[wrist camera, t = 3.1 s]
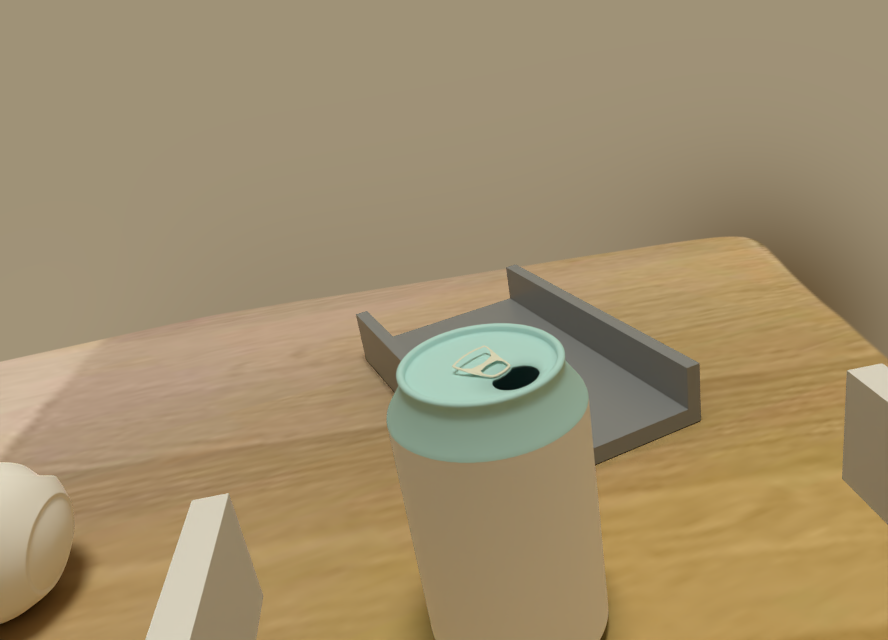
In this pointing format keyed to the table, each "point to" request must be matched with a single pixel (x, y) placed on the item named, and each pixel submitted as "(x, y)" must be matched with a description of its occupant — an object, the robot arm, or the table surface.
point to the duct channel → (576, 361)
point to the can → (500, 485)
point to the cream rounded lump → (31, 537)
